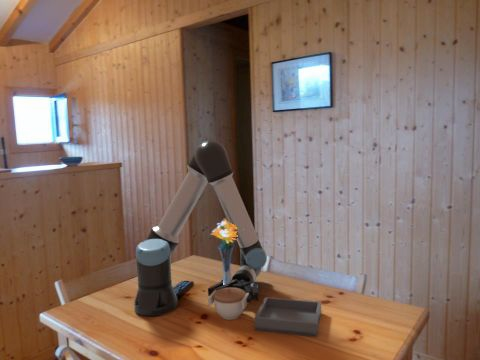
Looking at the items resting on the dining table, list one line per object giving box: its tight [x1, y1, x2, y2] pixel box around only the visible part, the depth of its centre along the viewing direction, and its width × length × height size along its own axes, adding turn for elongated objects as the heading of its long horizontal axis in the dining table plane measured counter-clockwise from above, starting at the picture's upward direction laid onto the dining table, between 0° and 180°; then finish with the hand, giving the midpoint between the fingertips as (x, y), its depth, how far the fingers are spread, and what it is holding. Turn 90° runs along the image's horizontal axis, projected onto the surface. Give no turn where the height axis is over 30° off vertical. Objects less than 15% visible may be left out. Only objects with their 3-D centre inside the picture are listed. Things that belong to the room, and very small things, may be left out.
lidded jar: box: [213, 287, 245, 321], centre depth 132 cm, size 11×11×9 cm
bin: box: [254, 296, 322, 338], centre depth 126 cm, size 19×16×4 cm
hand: (225, 303), depth 128 cm, fingers closed on lidded jar, 11 cm apart
